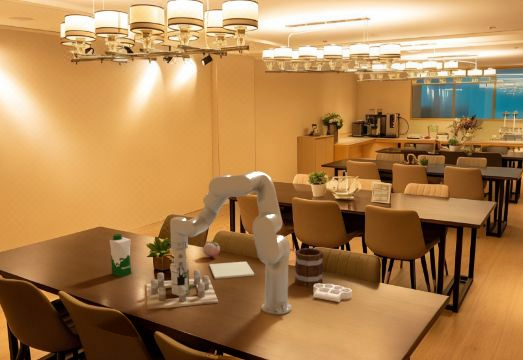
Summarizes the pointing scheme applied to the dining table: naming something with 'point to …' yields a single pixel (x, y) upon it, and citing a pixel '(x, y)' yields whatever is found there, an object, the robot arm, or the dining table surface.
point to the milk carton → (120, 255)
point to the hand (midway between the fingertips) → (180, 281)
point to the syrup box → (174, 279)
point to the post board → (175, 301)
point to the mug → (308, 267)
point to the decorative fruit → (211, 249)
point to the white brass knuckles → (331, 292)
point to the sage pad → (231, 270)
